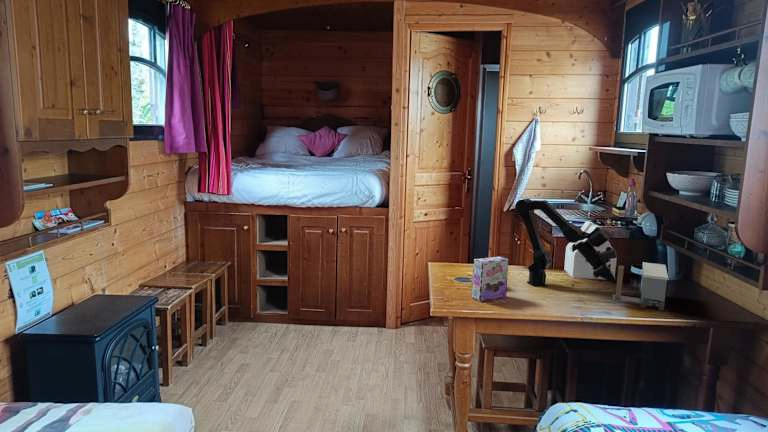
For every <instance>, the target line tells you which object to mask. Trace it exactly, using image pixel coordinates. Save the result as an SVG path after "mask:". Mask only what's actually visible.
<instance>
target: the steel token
mask: <svg viewBox="0 0 768 432" xmlns="http://www.w3.org/2000/svg"><path fill="white" fill-rule="evenodd" d="M658 305H659V300H654V303H653V307H657V308H658Z"/></svg>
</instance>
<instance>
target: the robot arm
mask: <svg viewBox="0 0 768 432" xmlns="http://www.w3.org/2000/svg"><path fill="white" fill-rule="evenodd" d="M515 209H516V212H517V213H518V215H519V216H520V217H521V219H522V220H523V223H524V226H525V228H526V232H527V236H528V237H529V242H530V244H531V247H532V261H533V263H531V264H530V265H528V267H527V268H528V269H527V270H528V272H529V275H528V280H527V281H526V283H527V284H529V285H530V286H532V287H546V286H547V284H546V280H547V274H546V273H547V271H546V270H547V268H549V267H550V266H551V264H552V261H553V260H552V259H553V257H552V254H551V251H550V250H549V249H547V250H546V248H545V247H544V244H543V241H542V238H541V235H540V232H539V229H538V226H537V223H536V220H535V211H539V210H540V212H542V213H543V214H544V215H545V216H546V217H548V219H550V220H551V222H552V223H554V224H555V226H556V227H558V228H559V229H560V232H561V233H562V235H563V237H564V238H565V239H566V241H568V243H575V242H578V241H580V240H584V239H586V238H587V240H586V241H584V242H583V241H580V242H579V243H578V244H576V245H575V244H573V245H572V252H574V251H575V250H578V251H579V252H580V253H581V255H582V256H583V257H584V258H585V259H586V262H589V264H590V265H591V266H592V267H593V270H594V271H593V275H594V277H595V278H598V277H599V276H600V277H602V278H604V279H603V280H607V281H609V282H611V283H613V284H617V278H616V276H615V277H614V275H613V273H612V272H611V269H610V268H611V264H609V265H607V264H606V263H607V262H610V261H611V260H610V259H612V258H613V259H614V258H616V257H617V258H618V254H617V251H616V248H613V247H612V248H613V249H612V248H611V247H607V248H606V251H604V252H600V251H599V250H596V249H595V248H594V247H595V246H596V247H600V246H601V245H602V244H604V243H605V242H607V241H610V236H609V234H608V233H607V232H606V231H605V230H604V229H602V228H601V229H600V227H601V226H600V227H597V228H595V229H594V230H593V231H592V232H591V233H587V232H583V231H582V230H581V228H580V227H578V226H577V225H575V224H573V223H571V222H569V221H568V220H567V219H566V218H565V217H564V216H562V214H561V213H559V211H558V210H556V209H555V208H554V207H553V206H552V205H551V204H550V202H549V201H547V200H545V199H544V200H531V198H523V199H519V200H518V201H516V204H515Z"/></svg>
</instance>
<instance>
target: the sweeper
mask: <svg viewBox="0 0 768 432" xmlns="http://www.w3.org/2000/svg"><path fill="white" fill-rule="evenodd" d="M624 270H625V266H624V265H618V269H617V277H616V281H617V283H616V286H615V287H616V288H615V294H612V297H611V298H612V299H611V300H612V301H614V302H622V303H628V304H632V305H633V304H634V305H640V301H641V297H640V298H639V297H632V296H625V295H622V288H623V278H624ZM654 301H655V300H653V299H646V307H647V306H648V307H654V305H653V303H654Z"/></svg>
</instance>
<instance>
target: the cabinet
mask: <svg viewBox="0 0 768 432" xmlns="http://www.w3.org/2000/svg"><path fill="white" fill-rule="evenodd" d="M668 281H669V276H668V271H667V266H666V264H661V263H655V262H654V263H652V262H646V261H645V262H644V261H642V274H641V281H640V282H641V283H640V286H639V294H640V295H641V296H640V299H641V301H640V304H639V308H643V309H646V307H647V305H646V299H647V300H650V299H653V300H654V301H659V305H658V307H657V310H658V311H661V312H663V311H665V302H666V300H665V299H666V291H667V284H668Z"/></svg>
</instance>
